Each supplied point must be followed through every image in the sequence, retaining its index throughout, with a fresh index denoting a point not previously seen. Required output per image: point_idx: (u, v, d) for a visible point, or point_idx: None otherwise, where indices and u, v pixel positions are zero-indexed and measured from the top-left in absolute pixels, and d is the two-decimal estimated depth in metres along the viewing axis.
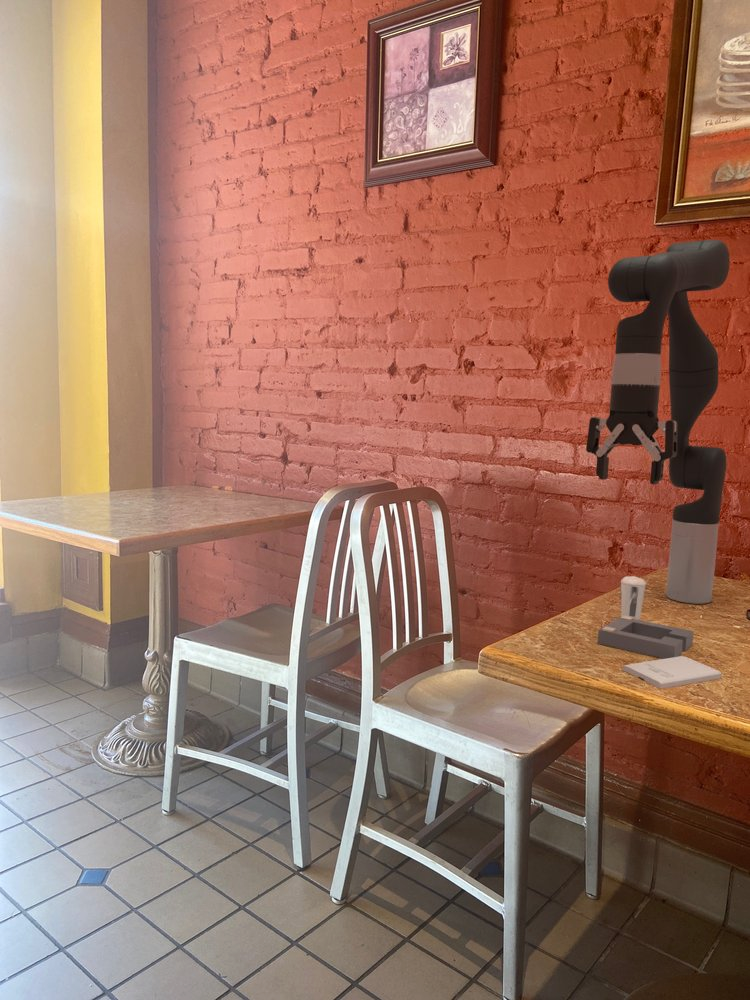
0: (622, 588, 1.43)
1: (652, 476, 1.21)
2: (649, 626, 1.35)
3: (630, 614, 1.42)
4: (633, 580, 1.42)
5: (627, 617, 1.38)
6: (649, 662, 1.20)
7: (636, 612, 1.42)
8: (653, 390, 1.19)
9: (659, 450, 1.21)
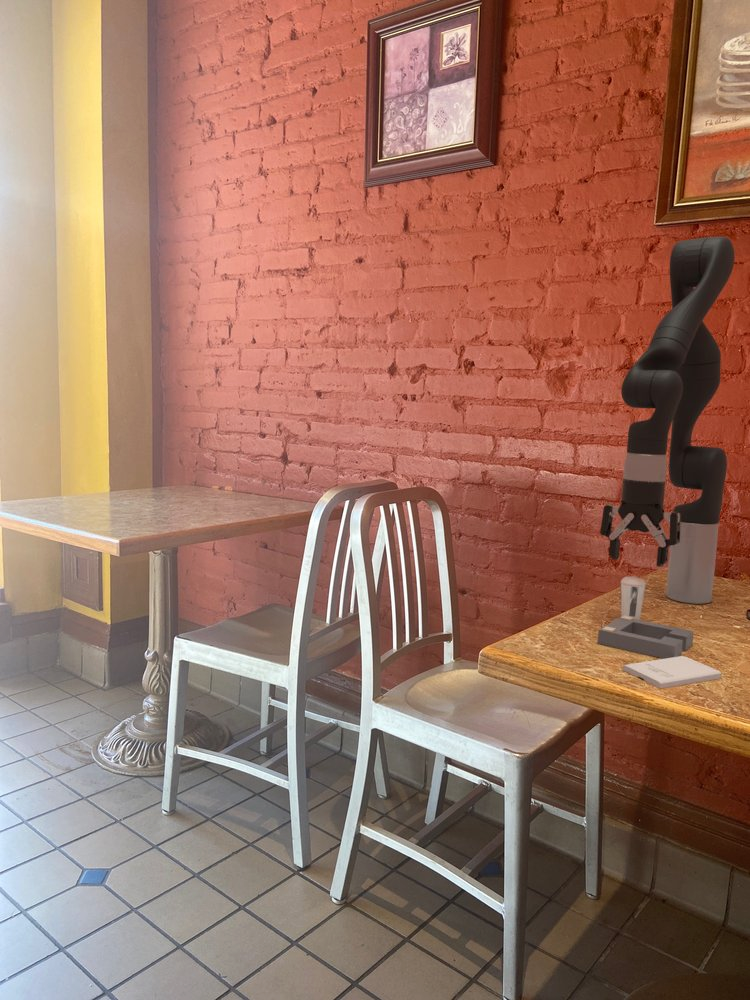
0: (622, 588, 1.43)
1: (658, 560, 1.39)
2: (649, 626, 1.35)
3: (630, 614, 1.42)
4: (633, 580, 1.41)
5: (627, 617, 1.38)
6: (649, 662, 1.20)
7: (636, 612, 1.42)
8: (660, 486, 1.37)
9: (664, 537, 1.40)
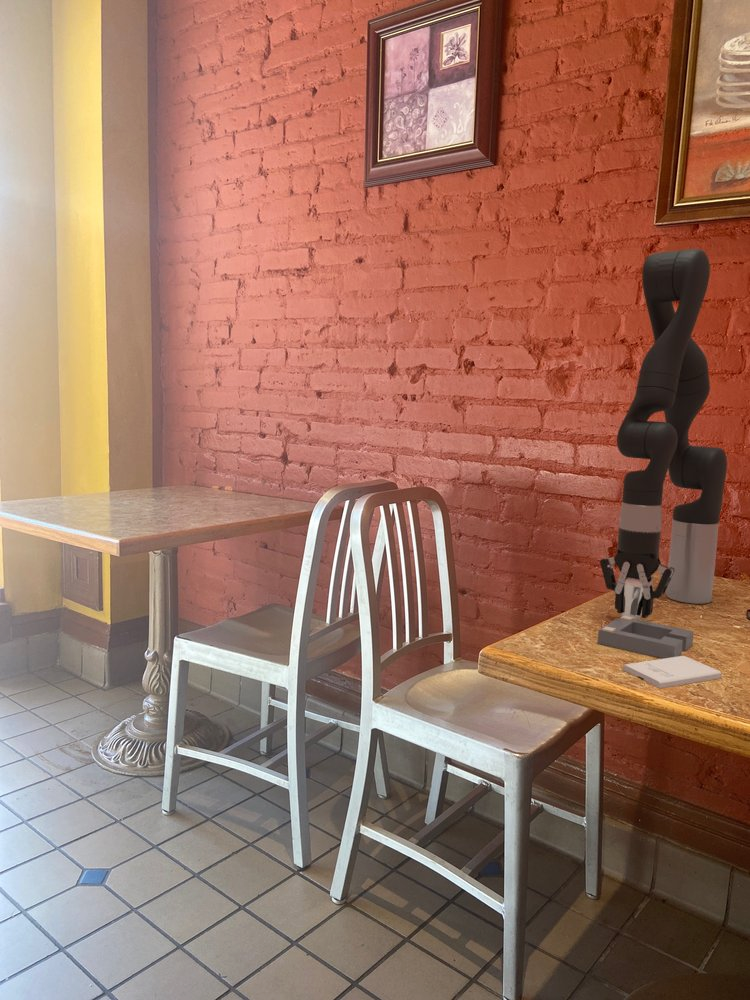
0: (624, 588, 1.43)
1: (643, 612, 1.42)
2: (649, 626, 1.35)
3: (631, 614, 1.42)
4: (636, 580, 1.41)
5: (627, 617, 1.38)
6: (649, 662, 1.20)
7: (637, 612, 1.42)
8: (655, 536, 1.39)
9: (651, 589, 1.42)
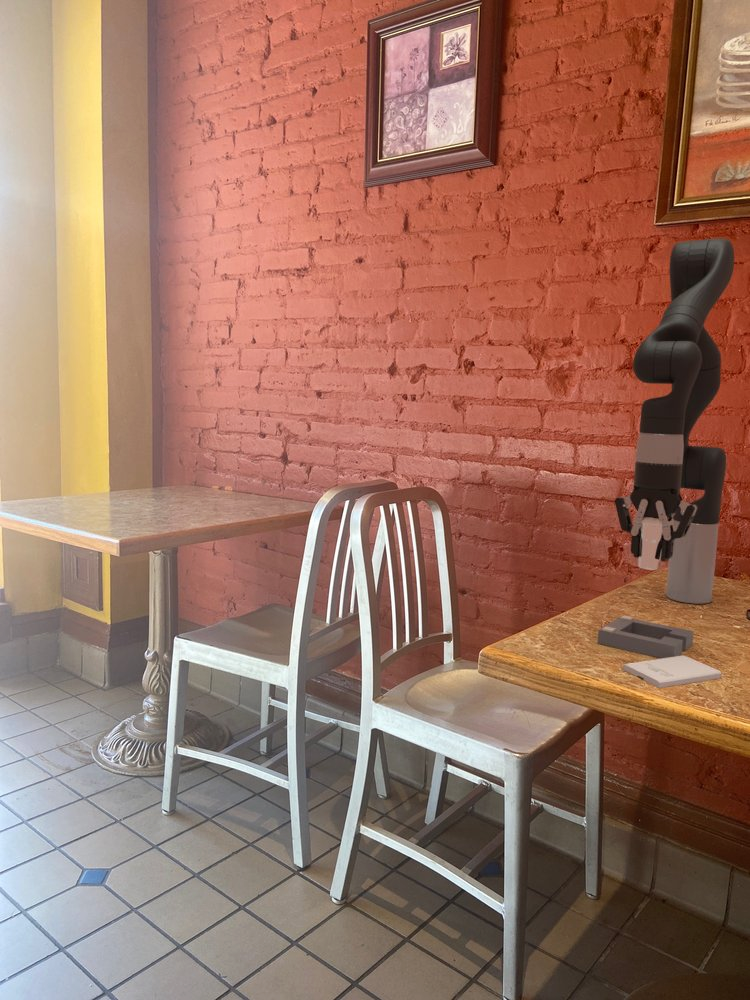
0: (641, 528, 1.29)
1: (662, 554, 1.27)
2: (649, 626, 1.35)
3: (649, 557, 1.28)
4: (654, 519, 1.27)
5: (627, 617, 1.38)
6: (649, 661, 1.20)
7: (655, 555, 1.28)
8: (676, 469, 1.25)
9: (672, 529, 1.28)
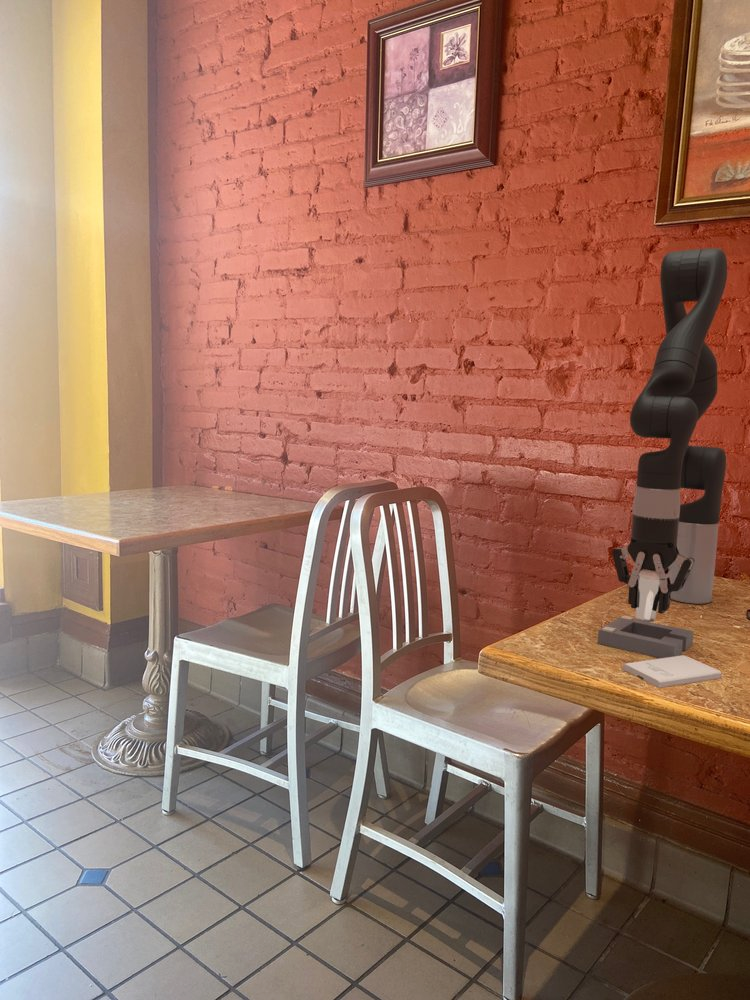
0: (639, 580, 1.30)
1: (659, 607, 1.29)
2: (649, 626, 1.35)
3: (646, 609, 1.29)
4: (652, 572, 1.28)
5: (627, 617, 1.38)
6: (649, 661, 1.20)
7: (653, 607, 1.29)
8: (673, 523, 1.26)
9: (669, 581, 1.29)
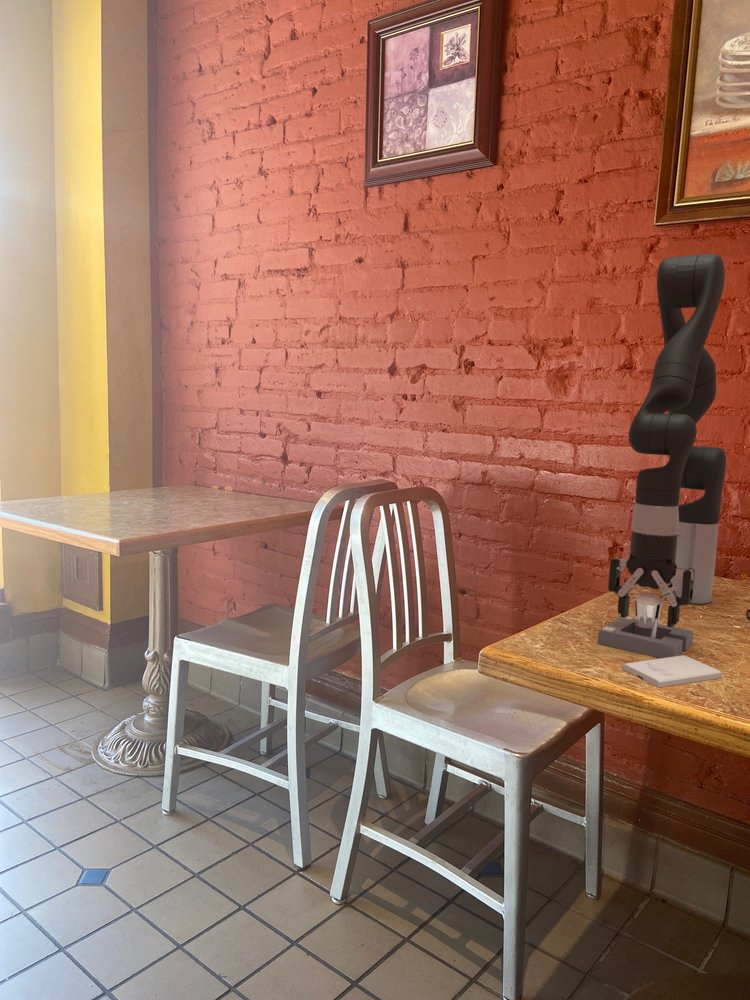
0: (636, 606, 1.31)
1: (669, 620, 1.28)
2: None
3: (645, 635, 1.30)
4: (648, 598, 1.29)
5: (627, 617, 1.38)
6: (649, 661, 1.20)
7: (652, 633, 1.30)
8: (671, 540, 1.26)
9: (676, 594, 1.29)
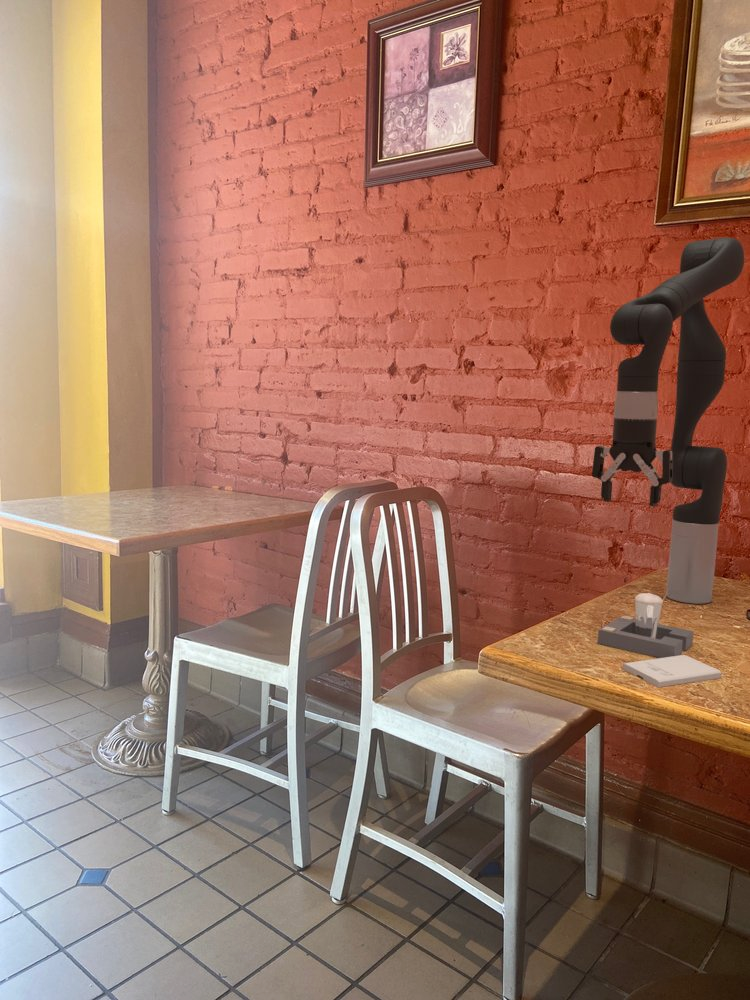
0: (636, 606, 1.31)
1: (651, 499, 1.37)
2: None
3: (645, 635, 1.30)
4: (649, 598, 1.29)
5: (627, 617, 1.38)
6: (649, 660, 1.20)
7: (652, 633, 1.30)
8: (651, 424, 1.34)
9: (657, 476, 1.37)
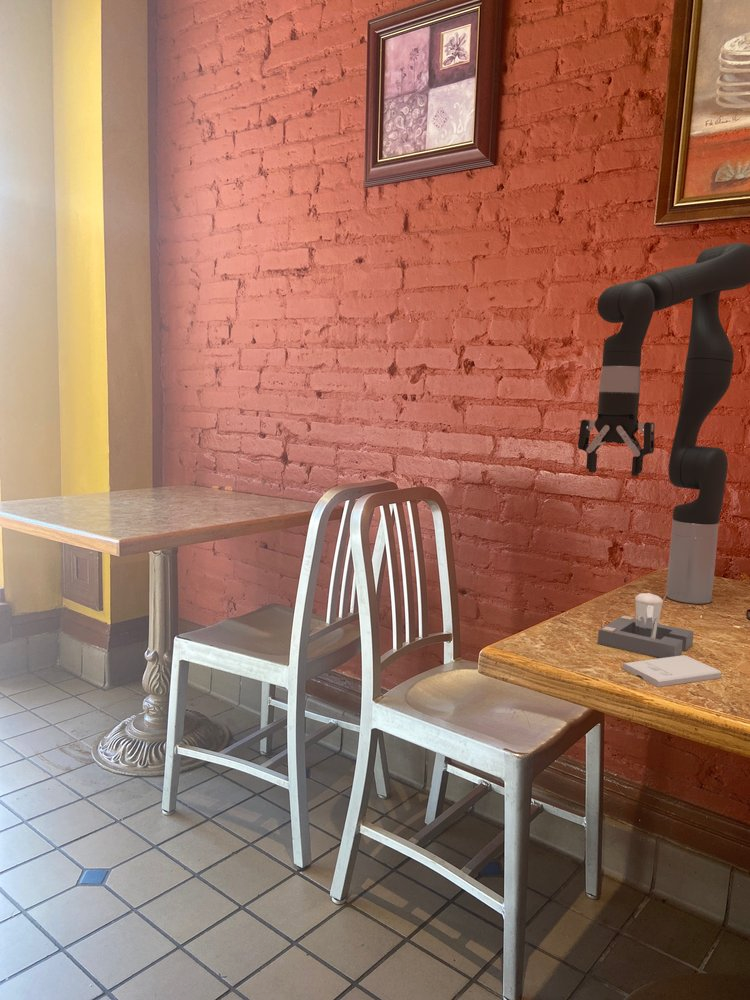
0: (636, 606, 1.31)
1: (633, 469, 1.43)
2: None
3: (645, 635, 1.30)
4: (649, 598, 1.29)
5: (627, 617, 1.38)
6: (649, 660, 1.21)
7: (652, 633, 1.30)
8: (634, 397, 1.42)
9: (639, 447, 1.44)
